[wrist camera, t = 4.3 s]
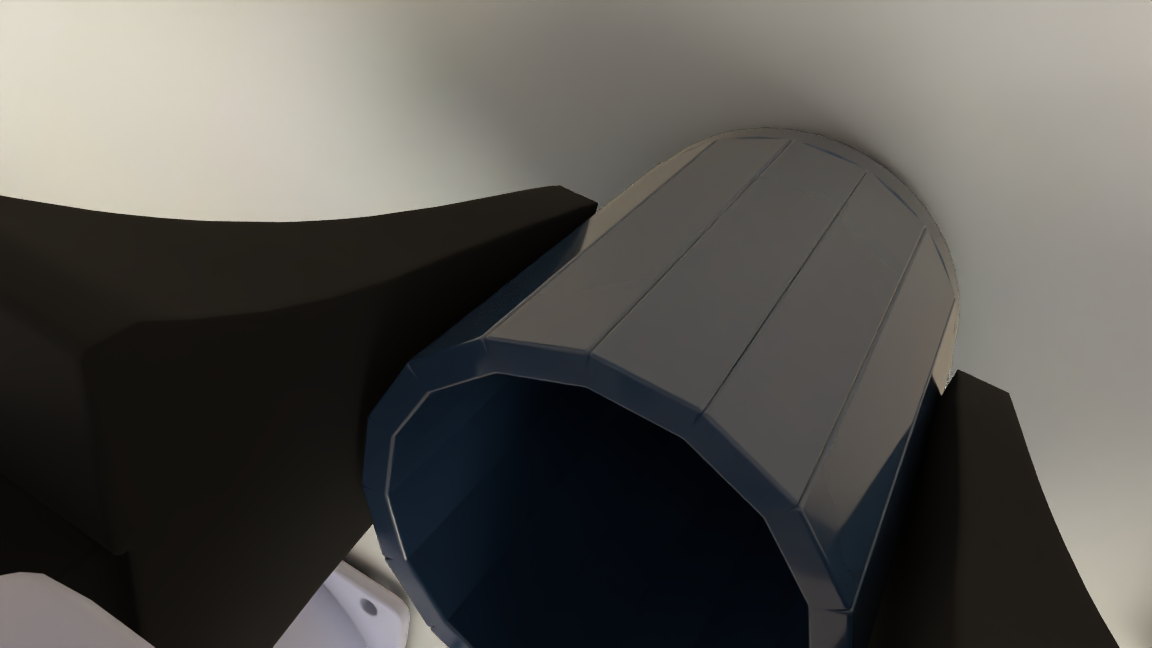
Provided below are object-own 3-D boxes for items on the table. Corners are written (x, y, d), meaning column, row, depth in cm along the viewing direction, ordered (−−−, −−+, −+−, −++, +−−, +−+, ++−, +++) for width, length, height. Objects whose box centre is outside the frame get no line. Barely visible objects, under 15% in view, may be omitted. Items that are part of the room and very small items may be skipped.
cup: (589, 349, 15) (350, 598, 10) (668, 70, 12) (379, 244, 7) (867, 492, 13) (735, 854, 9) (1035, 219, 10) (968, 550, 6)
